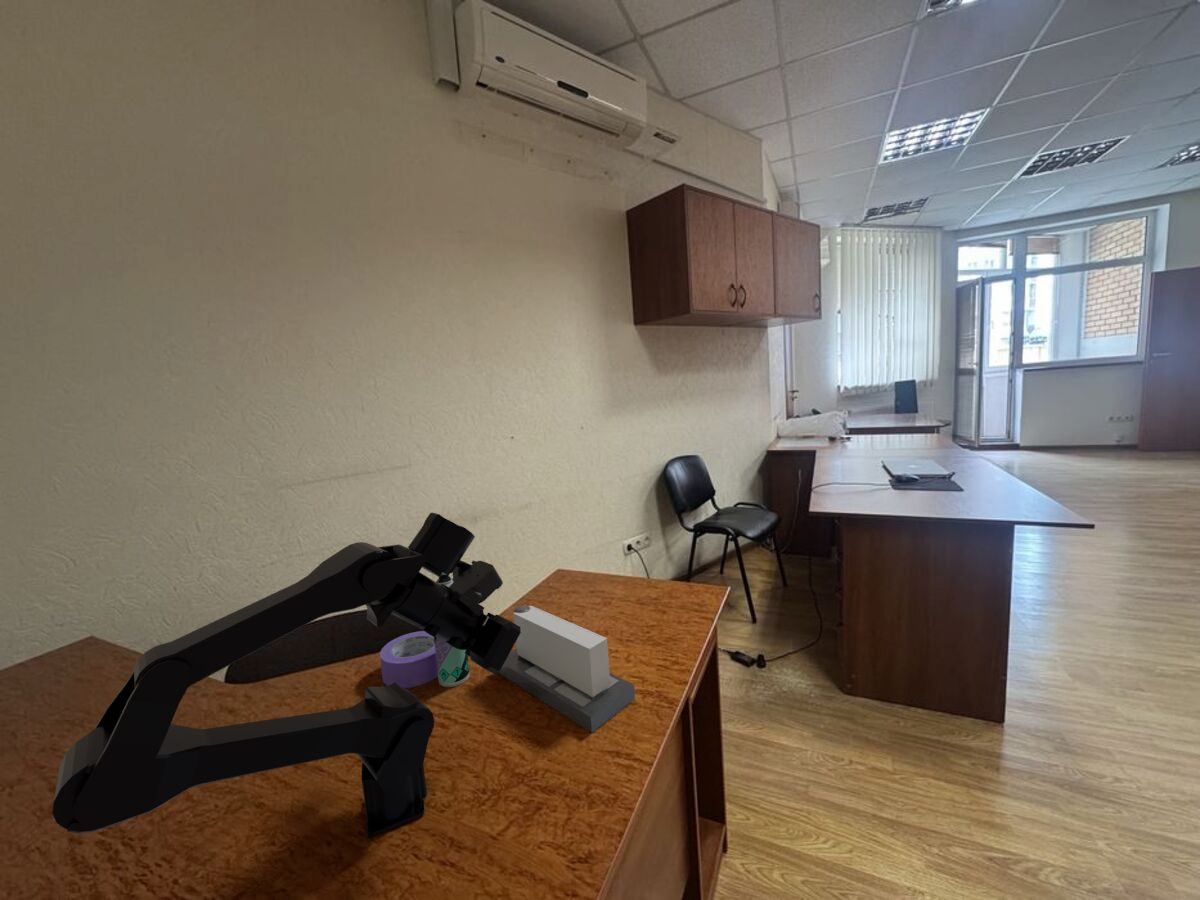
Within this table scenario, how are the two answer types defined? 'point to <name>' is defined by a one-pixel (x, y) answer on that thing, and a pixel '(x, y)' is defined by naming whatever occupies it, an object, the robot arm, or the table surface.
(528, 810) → the table surface
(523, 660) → the server tray
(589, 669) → the upright grey slab
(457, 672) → the spray can
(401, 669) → the tape roll
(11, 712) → the table surface
